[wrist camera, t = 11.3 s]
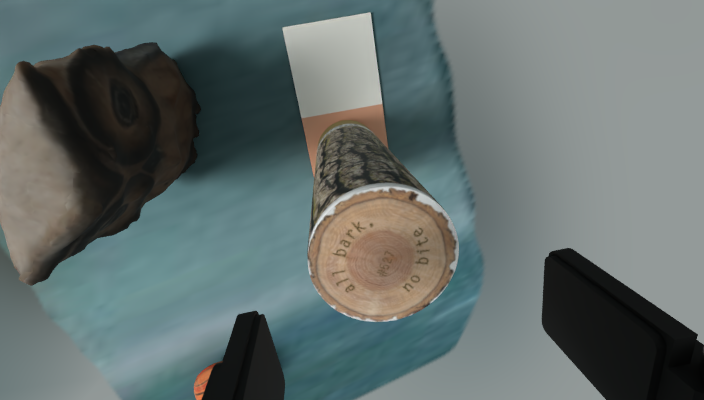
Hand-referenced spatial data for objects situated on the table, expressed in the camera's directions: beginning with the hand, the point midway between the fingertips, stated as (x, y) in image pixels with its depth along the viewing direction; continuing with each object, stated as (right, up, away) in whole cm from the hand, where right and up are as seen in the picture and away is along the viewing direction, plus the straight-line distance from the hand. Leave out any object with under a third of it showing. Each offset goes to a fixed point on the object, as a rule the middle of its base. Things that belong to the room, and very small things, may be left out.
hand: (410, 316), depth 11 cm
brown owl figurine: (-24, +13, +25) cm, 37 cm away
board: (-4, +18, +25) cm, 31 cm away
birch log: (-2, +10, +28) cm, 29 cm away
